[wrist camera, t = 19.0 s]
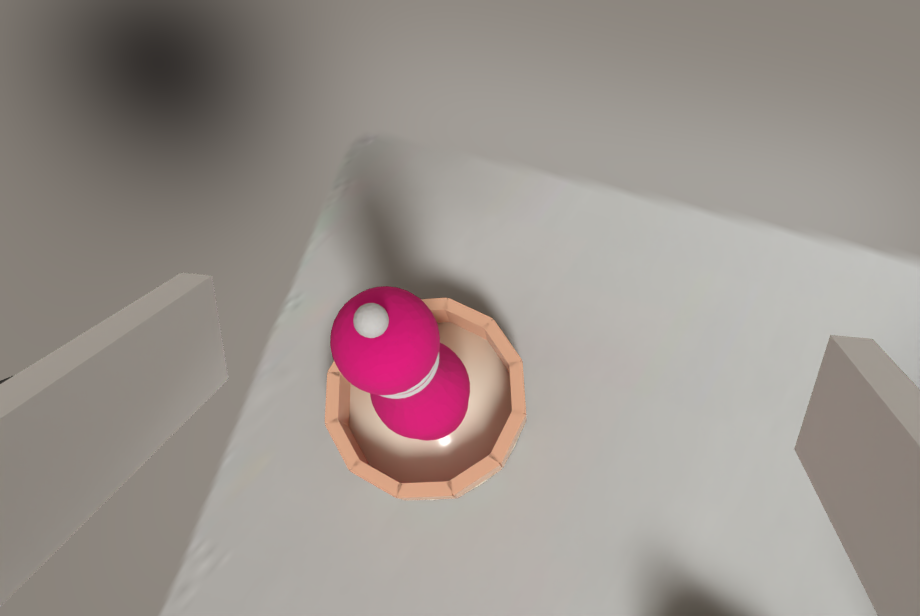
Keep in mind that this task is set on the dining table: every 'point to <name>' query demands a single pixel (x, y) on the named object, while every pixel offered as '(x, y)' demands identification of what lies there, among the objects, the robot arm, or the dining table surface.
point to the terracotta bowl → (458, 454)
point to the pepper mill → (401, 363)
